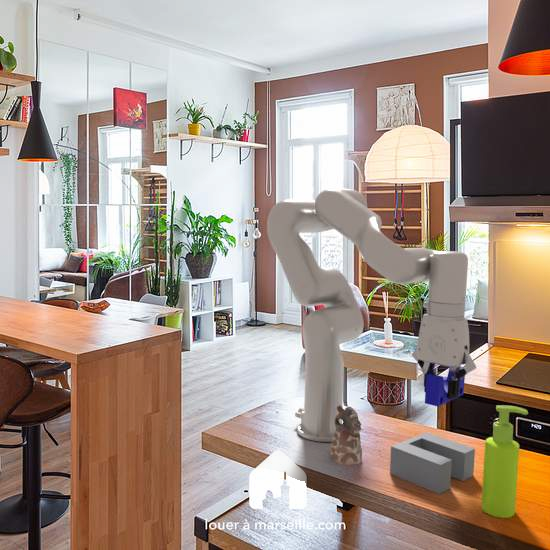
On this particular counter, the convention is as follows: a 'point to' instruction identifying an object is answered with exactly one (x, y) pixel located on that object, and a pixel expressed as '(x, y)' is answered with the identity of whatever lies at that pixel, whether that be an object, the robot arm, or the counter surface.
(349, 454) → the figurine
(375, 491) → the counter surface
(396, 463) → the slotted block
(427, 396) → the cable clip
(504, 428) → the soap dispenser
